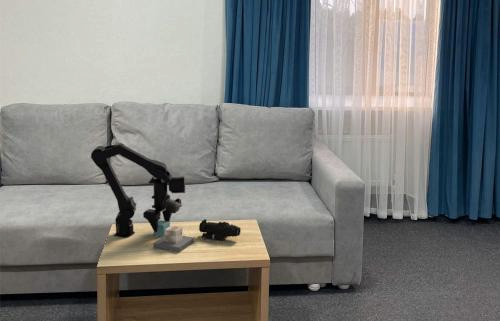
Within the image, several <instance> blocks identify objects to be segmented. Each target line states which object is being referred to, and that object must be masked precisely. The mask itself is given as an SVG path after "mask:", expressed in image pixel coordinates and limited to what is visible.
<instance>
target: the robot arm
mask: <svg viewBox="0 0 500 321" xmlns="http://www.w3.org/2000/svg"><path fill="white" fill-rule="evenodd" d="M115 156H121V157H122V158H125V159H126V160H129V161H130V162H132V163H134V164H135V165H138V166H139V167H142V168H143V169H144V170H145V171H147V172H148V173H149V174H150V175H151V178H150V179H149V180H148V184H150V185H151V184H152V185H153V195H152V196H151V199H153V205H151V208H149V209H146V210H144V212H143V215H142V216H143V219H145V220H147V221H148V223H149V225H150V227H151V229H152V231H153V233H154V232H157V230H158V221H159V220H161V217H162V216H163V221H167V222H171V217H172V214H176V213H177V212H179V211H180V209H181V207H182V206H183V205H182V199H181V198H180V197H177V198H176V199H174V198H173V199H171V194H186V182H185V180H186V179H185V176H173V174H171V173H170V171H169V170H168V166H167V164H166V163H164V162H162V161H158V160H156V159H151V158H148V157H147V156H145V155H143V154H142V153H140V152H137V151H135V150H134V149H132V148H130V147H128V146H126V145H125V144H123V143H122V142H121V143H117V144H110V145H106V146H103V145H98V146H96V147H95V148H94V149H93V150H92V152H91V153H90V158H91V160H92V161H93V163H94V164H95V165H96V167H98V168H99V169H100V170H101V172H102V174H103V175H104V178H105V180H106V182H107V184H108V185H109V187H110V190H111V191H112V193H113V195H114V197H115V199H116V201H117V207H118V213H117V215H116V217H115V233H113V236H114V237H121V238H128V237H130V236H132V235H134V234H135V233H136V231H135V230H134V223H133V219H132V218H133V217H134V216H135V213H136V210H137V203H136V202H135V200H134V197H133V196H128V195H127V193H126V192H125V190H124V188H123V186H122V184H121V182H120V180H119V178H118V176H117V174H116V172H115V170H114V168H113V166H112V163H111V158H113V157H115ZM168 191H169V192H170V193H171V194H169V193H168ZM161 214H162V216H161Z"/></svg>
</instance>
